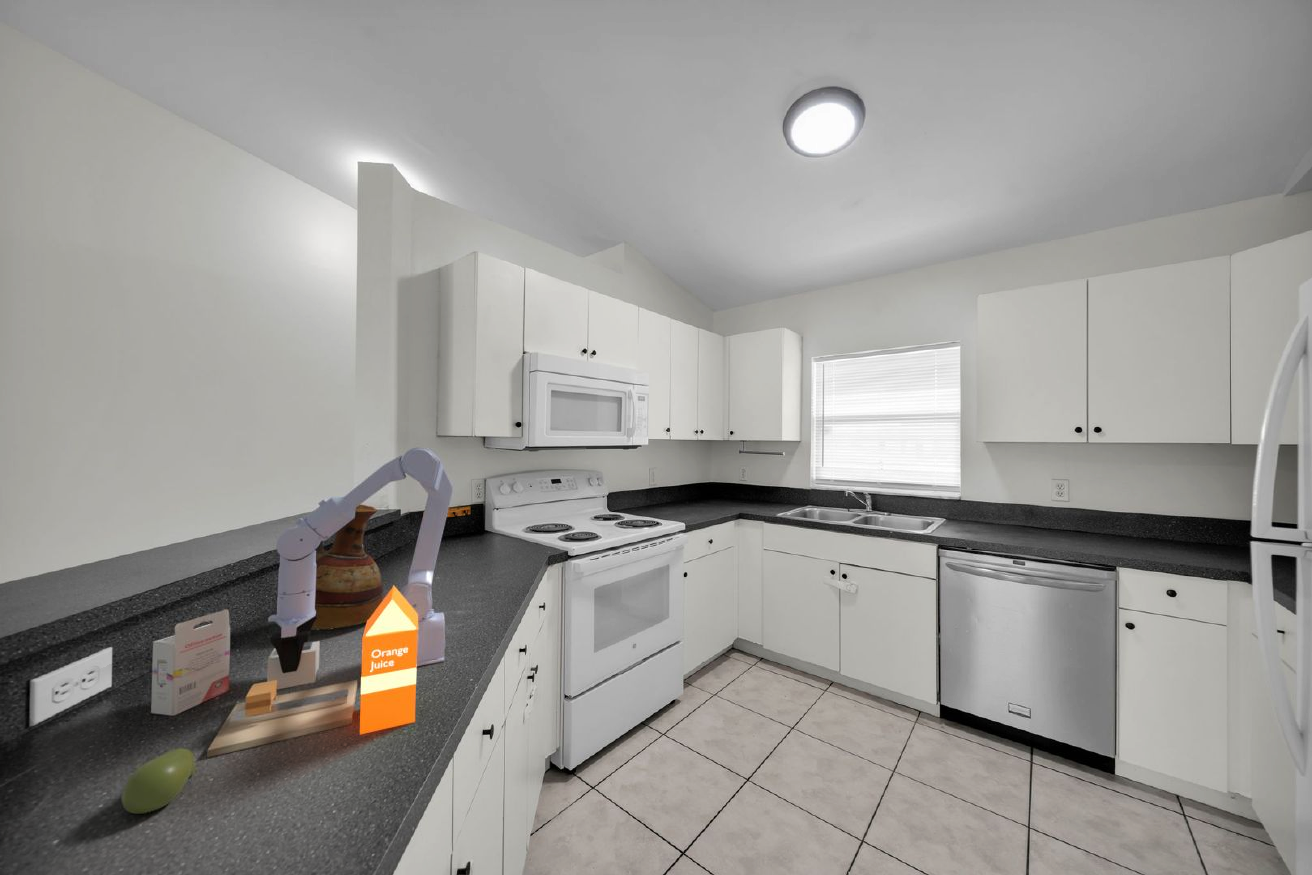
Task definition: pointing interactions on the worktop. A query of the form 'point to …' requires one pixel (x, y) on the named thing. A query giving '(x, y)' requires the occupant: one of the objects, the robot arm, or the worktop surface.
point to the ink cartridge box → (191, 664)
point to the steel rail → (292, 707)
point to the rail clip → (260, 698)
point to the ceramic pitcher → (347, 577)
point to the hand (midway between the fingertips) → (294, 663)
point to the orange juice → (389, 665)
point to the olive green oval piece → (158, 781)
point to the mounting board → (285, 722)
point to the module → (303, 673)
